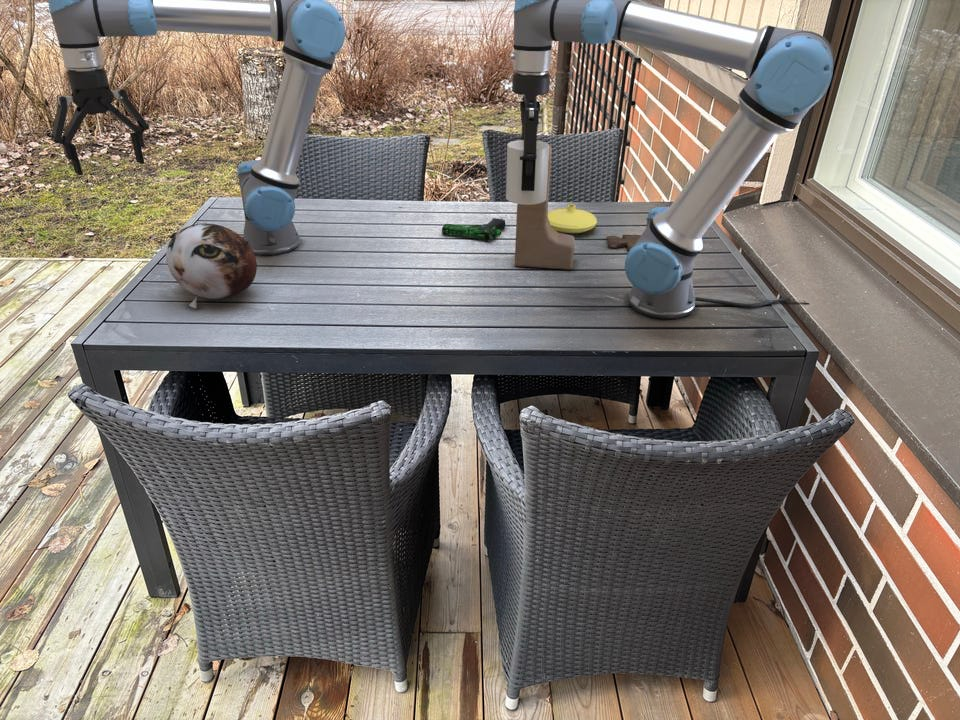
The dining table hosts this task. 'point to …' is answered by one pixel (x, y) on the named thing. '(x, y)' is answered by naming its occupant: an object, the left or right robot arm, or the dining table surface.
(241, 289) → the cat face balloon
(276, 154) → the left robot arm
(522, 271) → the dining table surface
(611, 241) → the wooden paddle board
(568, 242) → the decorative block
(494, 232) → the handgun
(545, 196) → the canister
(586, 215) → the yellow pot lid
